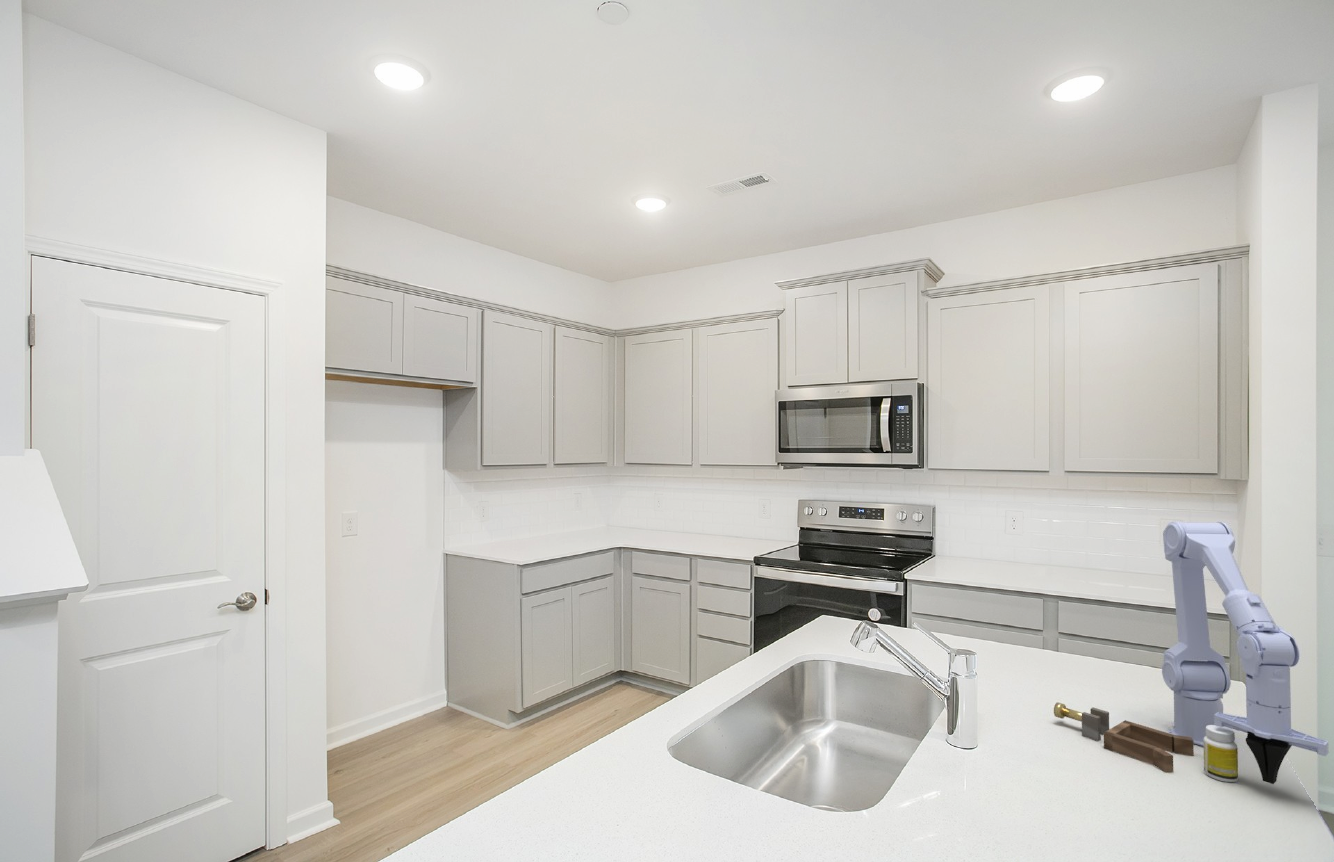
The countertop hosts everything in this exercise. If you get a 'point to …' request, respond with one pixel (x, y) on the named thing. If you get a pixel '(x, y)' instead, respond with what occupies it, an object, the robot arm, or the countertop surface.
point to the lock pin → (1066, 712)
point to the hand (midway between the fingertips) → (1269, 781)
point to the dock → (1136, 740)
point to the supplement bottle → (1220, 754)
